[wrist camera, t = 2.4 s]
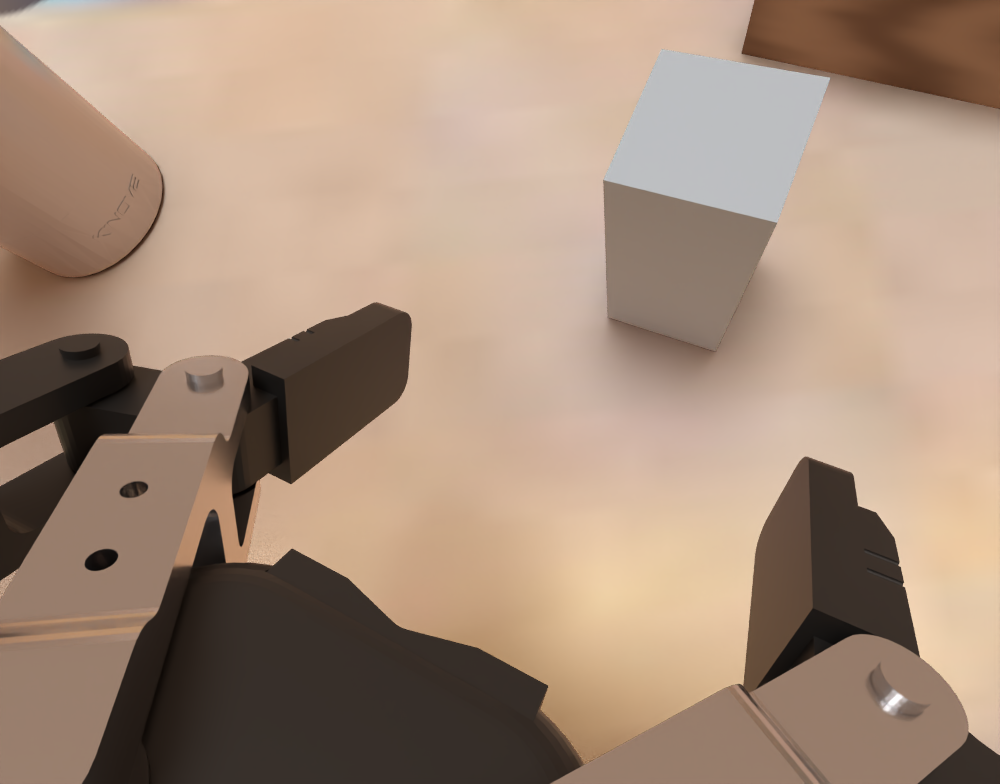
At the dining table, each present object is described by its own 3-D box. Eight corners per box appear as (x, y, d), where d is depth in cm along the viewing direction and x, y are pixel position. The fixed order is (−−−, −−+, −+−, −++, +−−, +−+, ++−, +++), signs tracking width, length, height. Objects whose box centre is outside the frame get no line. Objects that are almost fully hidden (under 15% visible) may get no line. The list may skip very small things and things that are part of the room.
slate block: (607, 317, 26) (603, 179, 17) (645, 226, 27) (661, 49, 18) (715, 351, 25) (777, 222, 15) (751, 255, 26) (830, 77, 16)
